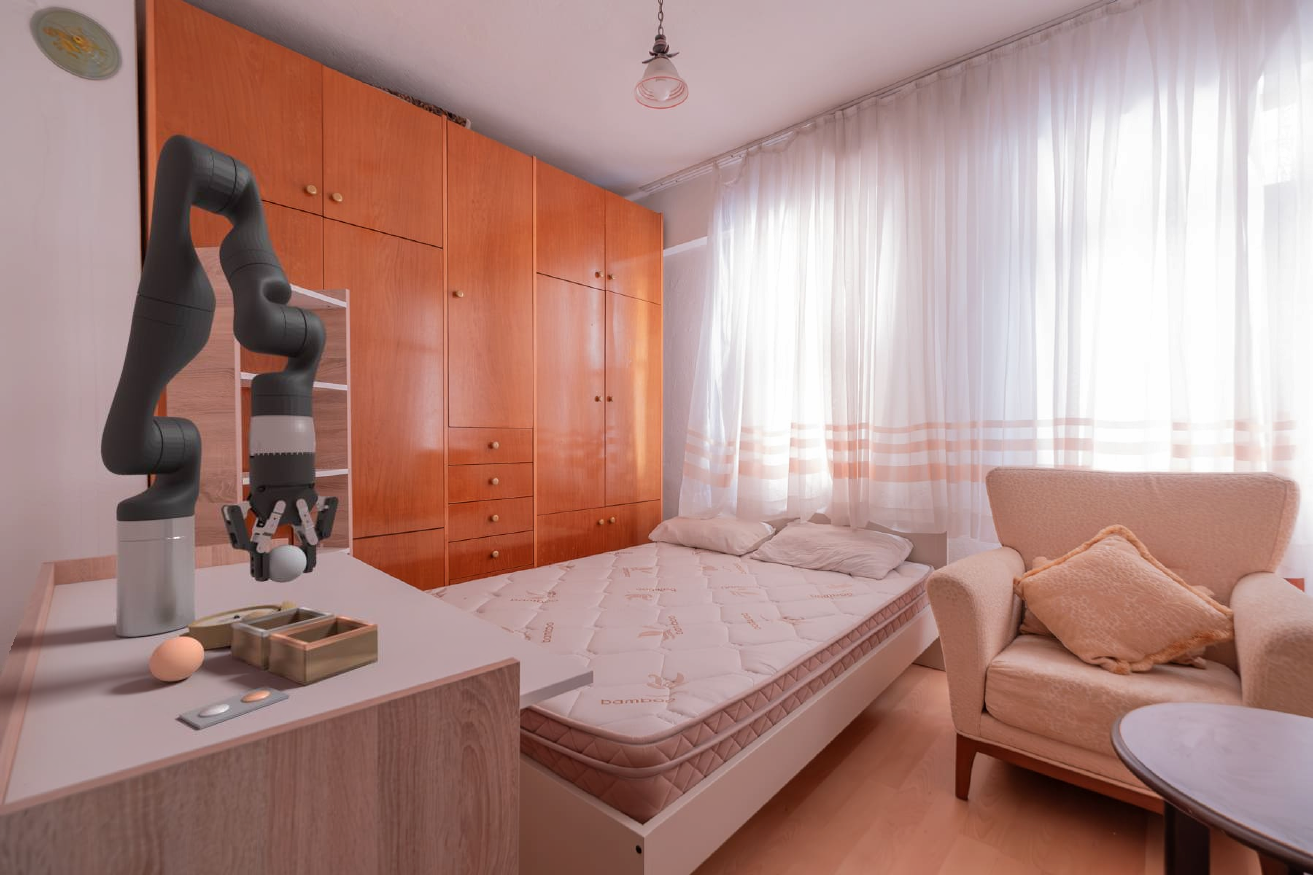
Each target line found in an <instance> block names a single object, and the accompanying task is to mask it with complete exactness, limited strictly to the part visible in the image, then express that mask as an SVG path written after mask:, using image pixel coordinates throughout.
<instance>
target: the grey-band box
mask: <svg viewBox="0 0 1313 875" xmlns="http://www.w3.org/2000/svg"><path fill="white" fill-rule="evenodd" d="M332 617H335V614H334V613H332V612H331V613H330V612H326V611H322V610H317V609H313V608H309V607H305V606H297V607H296V608H292V609H288V610H283V611H279V612H275V613H270V614H266V615H262V616H257V617H253V618H249V619H245V620H240V621H236V622H232V623H231V645H230V648H231V651H230V658H232V659H234V660H236V661H239V662H242V663H245V664H247V665H250V666H253V667H255V668H259V669H261V670H269V634H271V633H274V632H278V631H282V630H286V629H290V628H294V627H297V626H301V625H305V624H309V623H313V622H317V621H321V620H324V619H328V618H332Z"/></svg>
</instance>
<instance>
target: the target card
mask: <svg viewBox="0 0 1313 875" xmlns="http://www.w3.org/2000/svg"><path fill="white" fill-rule="evenodd" d="M289 698H290V694H288V693H285V692H283V691H280V690H278V689H275V688H273V687H271V686H268V685H264V686H261V687H258V688H255V689H253V690H249V691H246V692H243V693H239V694H237V695H235V696H231V697H228V698H225V699H221V700H219V701H215V702H213V703H210V704H206V705H204V706H202V707H197V708H195V709H191V710H189V711H185V712H183V713H179V714H178V717H179V719H181V720H183V721H185V722H186V723H189V725H192V726H193V727H195V728H198V729H199V730H201V729H205V728H208V727H210V726H213V725H216V724H219V723H221V722H225V721H227V720H230V719H233V718H235V717H238V716H239V717H240V716H241V715H245V714H248V713H250V712H253V711H256V710H258V709H261V708H264V707H266V706H270V705H272V704H275V703H278V702H280V701H281V702H282V701H284V700H286V699H289Z"/></svg>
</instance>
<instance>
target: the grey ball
mask: <svg viewBox="0 0 1313 875" xmlns="http://www.w3.org/2000/svg"><path fill="white" fill-rule="evenodd" d="M267 553H269V580H271V581H272V582H275V583H279V584H283V583H289V582H293V580H296V579H297V578H299V577H300V576H301V575H302V574H304V573H303V571H304V569H305V567H306V556H305V554H304V552H303V551H302V550H301V549H300V548H299V546H295V545H294V544H293V545H292V544H283V545H282V544H281V545H278V546H276V547H273V548H272V549H271V550H269V551H268V552H267Z"/></svg>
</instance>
